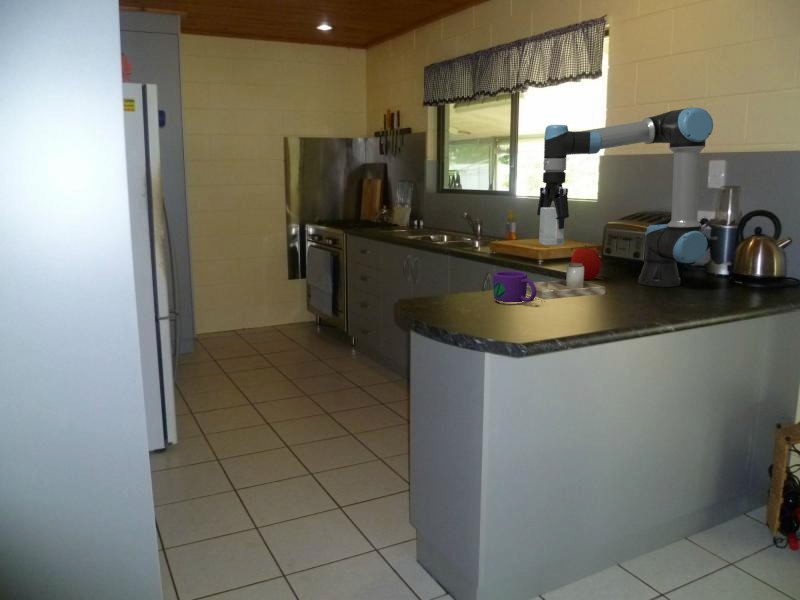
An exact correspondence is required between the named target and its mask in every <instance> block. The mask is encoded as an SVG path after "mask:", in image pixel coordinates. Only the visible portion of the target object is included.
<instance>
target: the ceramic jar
mask: <svg viewBox="0 0 800 600" xmlns="http://www.w3.org/2000/svg"><path fill="white" fill-rule="evenodd" d="M565 278H566V279H565V280H566V287H569V288H573V289H578V288H583V283H584V282H585V280H584V266H583V264H582V263H571V262H569V263H568V265H566V277H565Z"/></svg>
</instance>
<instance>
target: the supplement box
mask: <svg viewBox="0 0 800 600" xmlns="http://www.w3.org/2000/svg"><path fill="white" fill-rule="evenodd" d="M556 218H557V213H556V208H555V206H554V207H553V206H552V207H551V206H550V207H546V208H541V210H540V215H539V233H538V235H539V236H538V237H539V238H538V242H539V244H541V245H544V246H564V245H565V244H564V243H565V228H566V224H565V223H566V218H565V219H564V229H563V238H559V239H556V238H555V230H556Z"/></svg>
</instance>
